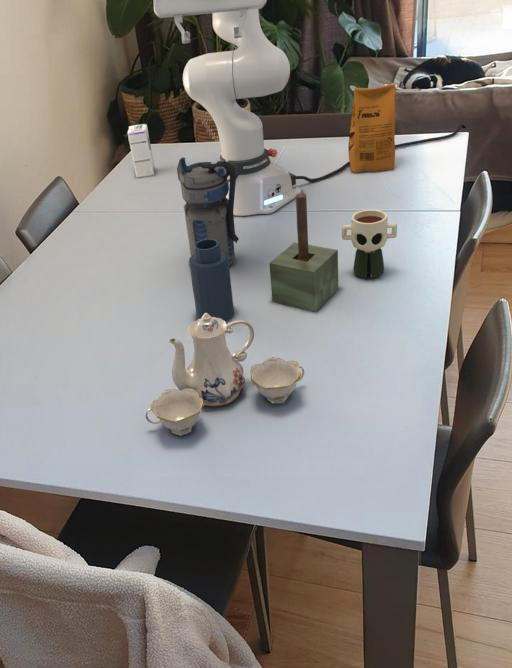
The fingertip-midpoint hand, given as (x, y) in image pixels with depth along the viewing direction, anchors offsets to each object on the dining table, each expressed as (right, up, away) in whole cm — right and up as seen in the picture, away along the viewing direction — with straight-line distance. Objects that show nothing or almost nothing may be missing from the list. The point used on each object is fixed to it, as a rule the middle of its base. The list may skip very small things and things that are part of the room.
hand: (212, 40), depth 130 cm
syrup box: (-15, 0, +93) cm, 94 cm away
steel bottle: (+2, -49, +17) cm, 52 cm away
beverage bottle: (+3, -36, +36) cm, 51 cm away
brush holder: (+20, -45, +18) cm, 52 cm away
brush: (+20, -45, +18) cm, 52 cm away
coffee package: (+49, -4, +70) cm, 86 cm away
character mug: (+35, -40, +22) cm, 57 cm away
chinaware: (+1, -66, -7) cm, 66 cm away
